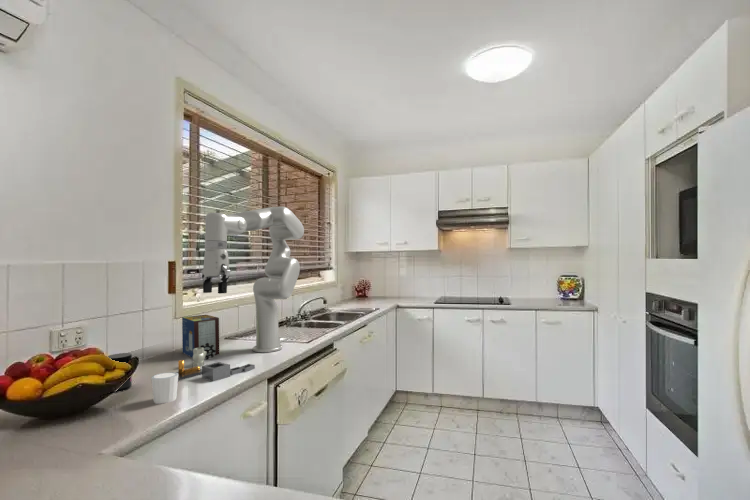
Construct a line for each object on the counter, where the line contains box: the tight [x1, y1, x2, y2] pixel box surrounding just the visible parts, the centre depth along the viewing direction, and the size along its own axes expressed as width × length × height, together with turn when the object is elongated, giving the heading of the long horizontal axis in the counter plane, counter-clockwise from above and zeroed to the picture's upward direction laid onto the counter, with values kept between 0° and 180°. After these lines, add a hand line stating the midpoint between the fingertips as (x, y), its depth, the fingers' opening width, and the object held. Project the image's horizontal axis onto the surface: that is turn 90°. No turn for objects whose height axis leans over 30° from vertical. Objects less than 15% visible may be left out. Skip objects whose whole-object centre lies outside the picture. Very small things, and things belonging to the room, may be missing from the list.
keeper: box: [176, 359, 202, 382], centre depth 134 cm, size 11×7×6 cm, turn 145°
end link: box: [201, 361, 231, 382], centre depth 132 cm, size 6×6×4 cm
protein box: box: [181, 314, 220, 359], centre depth 167 cm, size 10×15×16 cm
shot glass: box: [150, 371, 179, 405], centre depth 111 cm, size 7×7×7 cm
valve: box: [192, 343, 216, 368], centre depth 151 cm, size 7×7×12 cm
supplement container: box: [107, 352, 133, 393], centre depth 121 cm, size 7×7×10 cm
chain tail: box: [230, 363, 256, 376], centre depth 139 cm, size 10×4×1 cm, turn 145°
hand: (214, 293), depth 143 cm, fingers open, 9 cm apart
